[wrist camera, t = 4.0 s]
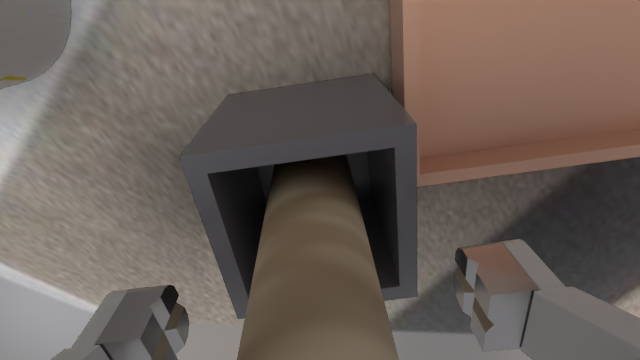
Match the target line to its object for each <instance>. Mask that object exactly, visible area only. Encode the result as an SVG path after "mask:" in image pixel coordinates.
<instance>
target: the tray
mask: <svg viewBox="0 0 640 360" xmlns="http://www.w3.org/2000/svg"><path fill="white" fill-rule="evenodd" d="M389 5H390V33H391V60H392V88H393V97H394V98H395V99H396V100H397V101H398V102H399V103H400V105H401V106H402V107H403V108H404V109H405V110H406V111H407V113H408V114H409V115H410V116H411V117H412V118H413V119H414V121H415V122H416V123H417V187H420V186H428V185H435V184H443V183H450V182H457V181H465V180H472V179H479V178H487V177H494V176H501V175H509V174H516V173H524V172H531V171H538V170H546V169H553V168H560V167H568V166H575V165H583V164H590V163H597V162H605V161H612V160H619V159H627V158H634V157H640V0H389Z"/></svg>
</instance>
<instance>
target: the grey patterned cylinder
mask: <svg viewBox="0 0 640 360" xmlns="http://www.w3.org/2000/svg"><path fill="white" fill-rule="evenodd" d="M70 24H71V0H0V89H2V88H6V87H9V86H12V85H15V84H19V83H22V82H25V81H29V80H31V79H33V78H35V77H37V76H39V75H41V74H42V73H44V72H45V71H46V70H48V69H49V68H50V67H51V66H52V65H53V64H54V63H55V62H56V60H57V59H58V58H59V56H60V54H61V53H62V51H63V49H64V47H65V45H66V42H67V39H68V35H69V31H70Z"/></svg>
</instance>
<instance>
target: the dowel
mask: <svg viewBox="0 0 640 360" xmlns="http://www.w3.org/2000/svg"><path fill="white" fill-rule="evenodd" d="M237 360H399V358H398V355H397V351H396V347H395V343H394V339H393V335H392V331H391V327H390V323H389V319H388V315H387V311H386V307H385V303H384V300H383V296H382V292H381V288H380V284H379V280H378V276H377V272H376V268H375V264H374V260H373V256H372V252H371V249H370V245H369V241H368V237H367V233H366V229H365V225H364V221H363V217H362V213H361V209H360V205H359V201H358V198H357V194H356V190H355V186H354V182H353V178H352V174H351V170H350V166H349V162H348V158H347V154H344V155H337V156H330V157H323V158H316V159H309V160H302V161H294V162H287V163H280V164H274V169H273V174H272V179H271V184H270V189H269V195H268V200H267V205H266V210H265V216H264V221H263V226H262V231H261V237H260V242H259V247H258V252H257V258H256V263H255V268H254V273H253V279H252V284H251V289H250V294H249V299H248V305H247V310H246V315H245V320H244V326H243V331H242V336H241V341H240V347H239V352H238V357H237Z"/></svg>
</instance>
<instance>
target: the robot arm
mask: <svg viewBox="0 0 640 360" xmlns="http://www.w3.org/2000/svg"><path fill="white" fill-rule="evenodd" d="M455 261H456V263H457V265H458V266H459V269H458V270H457V271H456V272H455V273H454V287H455V293H456V297H457V299H458V302H459V305H460V307H461V309H462V311H463V312H464V313H466V314H467V315H469V316H470V317H471V329H472V331H473V333H474V335H475V337H476V339H477V341H478V343H479V345H480V347H481V349H482V351H483V352H487V351H498V350H508V349H521V351H522V352H523V353H525V354H526V355H527V356H529V357H530V358H531V359H532V360H640V318H638V317H636V316H634V315H632V314H630V313H628V312H626V311H624V310H621V309H619V308H617V307H615V306H613V305H611V304H609V303H607V302H605V301H602V300H600V299H598V298H596V297H594V296H592V295H590V294H588V293H586V292H583V291H581V290H579V289H577V288H575V287H565V285H564V284H563V283H562V282H561V281H560V280H559V279H558V278H557V277H556V275H555V274H554V273H553V272H552V271H551V270H550V269H549V268H548V267H547V266H546V264H545V263H544V262H543V261H542V260H541V259H540V258H539V257H538V256H537V255H536V253H535V252H534V251H533V250H532V249H531V248H530V247H529V246H528V245H527V243H526V242H525V241H523V240H521V239H515V240H508V241H501V242H498V243H489V244H482V245H474V246H467V247H460V248H457V251H456V255H455ZM178 296H179V295H178V293H177V291H176V289H175V287H174V286H171V285H163V286H154V287H144V288H135V289H130V290H119V291H113V292H111V293H109V294H108V295H107V296H106V297H105V299H104V300H103V301H102V303H101V304H100V306H99V307H98V309H97V310H96V312H95V313H94V315H93V316H92V318H91V319H90V321H89V322H88V324H87V325H86V327H85V328H84V330H83V331H82V333H81V334H80V335H79V337H78V339H77V340H76V341H75V343H74V344H73V346H72V347H71V348H69V349H64V350H63V351H61V352H60V353H59V354H57V355H56V356H55V357H53V358H52V359H51V360H178V359H177V356H176V354H177V352H179V351H180V350H181V348H183V347H184V345H185V343H186V340H187V337H188V331H189V320H188V314H187V312H186V310H185V308H184V307H183V306H181V305H180V304H178V303H177V302H176V301H177V298H178Z"/></svg>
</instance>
